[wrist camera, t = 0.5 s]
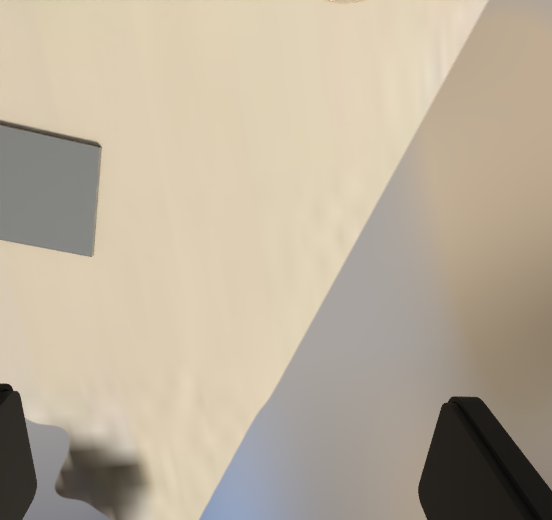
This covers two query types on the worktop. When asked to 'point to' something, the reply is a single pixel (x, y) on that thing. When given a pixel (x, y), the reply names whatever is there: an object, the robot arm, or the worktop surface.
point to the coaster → (48, 191)
